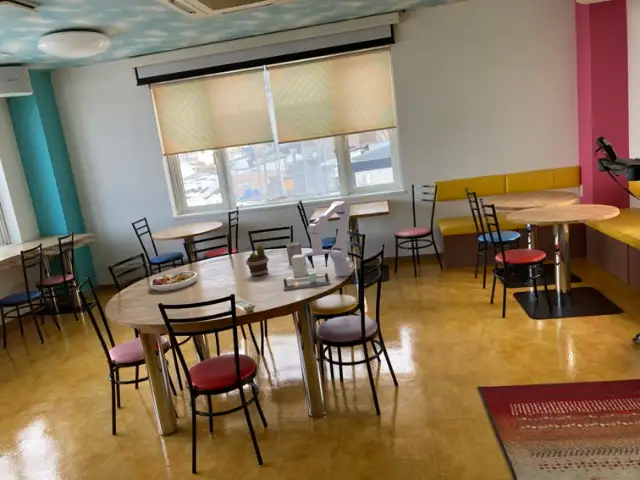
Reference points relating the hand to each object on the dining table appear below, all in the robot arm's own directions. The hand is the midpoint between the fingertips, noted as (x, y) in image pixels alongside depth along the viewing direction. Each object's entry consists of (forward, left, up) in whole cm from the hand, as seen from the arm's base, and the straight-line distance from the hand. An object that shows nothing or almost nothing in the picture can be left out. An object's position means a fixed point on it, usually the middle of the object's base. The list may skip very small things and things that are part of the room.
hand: (319, 267), depth 294 cm
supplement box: (+13, -22, -10) cm, 28 cm away
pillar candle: (+18, -55, -10) cm, 59 cm away
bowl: (+98, -40, -10) cm, 107 cm away
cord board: (+9, 0, -9) cm, 13 cm away
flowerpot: (+41, -38, -10) cm, 57 cm away
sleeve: (+5, 0, -7) cm, 9 cm away
